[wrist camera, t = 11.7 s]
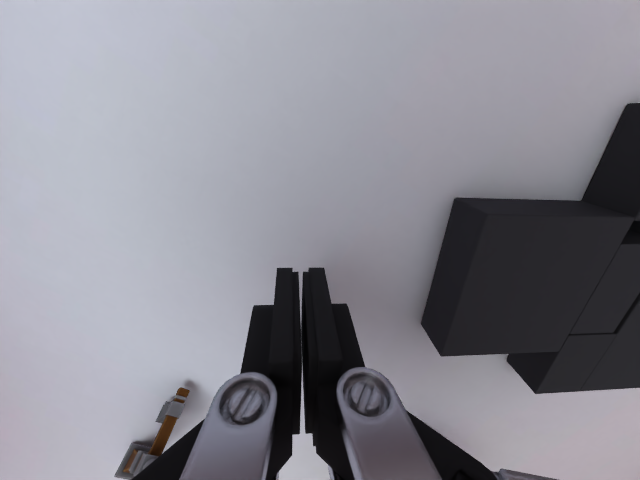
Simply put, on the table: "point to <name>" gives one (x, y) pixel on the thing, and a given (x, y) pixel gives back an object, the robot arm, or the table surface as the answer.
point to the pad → (530, 275)
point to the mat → (636, 326)
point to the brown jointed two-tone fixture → (144, 455)
